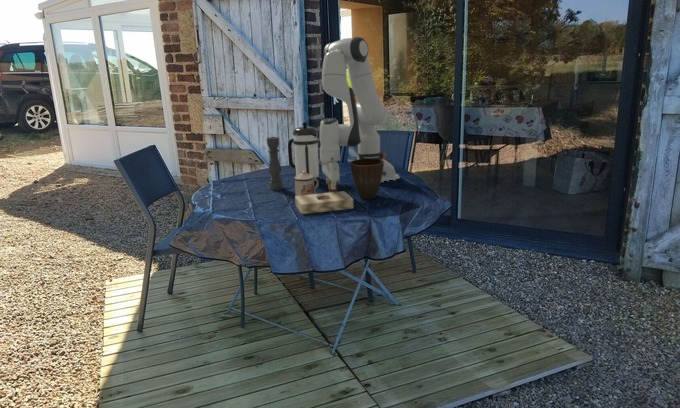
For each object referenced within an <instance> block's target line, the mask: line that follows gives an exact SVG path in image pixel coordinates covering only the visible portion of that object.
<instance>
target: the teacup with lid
mask: <svg viewBox="0 0 680 408" xmlns="http://www.w3.org/2000/svg"><path fill="white" fill-rule="evenodd" d="M294 177H295V178H294ZM294 177H293V178H294V180H295V181H294V180H293V181H294V191H295V196H300V195H310V194H315V190H317V188H318V187H319V184H320V183H319V180H318V179H317V178H314V176H313V175H309V174H308V173H306V171H302V173H301V174H299V175H298V176H295V175H294ZM315 182H316V184H315Z"/></svg>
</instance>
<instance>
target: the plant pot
mask: <svg viewBox="0 0 680 408" xmlns="http://www.w3.org/2000/svg"><path fill="white" fill-rule="evenodd" d="M349 164H350V170H351V175H352V178H353V183H354V186H355V189H356V191H357V194H358V196H359V198H360V199H363V200H364V199H367V200H370V199H375V198H377V195H378V192H379V189H380V187H381V183H382V182H381V178H382V173H383V166H384V161H383V160H380V159H358V160H357V159H354V160H351V161H350V163H349Z"/></svg>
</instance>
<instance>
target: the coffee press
mask: <svg viewBox="0 0 680 408" xmlns="http://www.w3.org/2000/svg"><path fill="white" fill-rule="evenodd" d="M307 125H308V123H307V122H306V121H303V122H302V126H299V127H296V128H295V129H294V130H293V131H292V137H293V138H291V139H289V141H288V143H287V144H288V145H287V153H288V156H287V157H288V162H289V166H290V167H291V168H293V169H294V170H295V171H294V173H295V175H294V177H293V178H292V179H293V181H294V182H295V180H294V178H295V176H298V175H299V174H301V173H302V171H306V173H308V174H309V175H313V176H314V179H317V178H318V179H319V180H322V179H323V177H322V175H321V174H320V159H319V158H320V153H319V139H318V135H319V132H318V131H319V130H317V128H316V127H313V126H307ZM292 145H293V147H292ZM292 149H293V150H292ZM293 152H294V153H293ZM293 154H294V162H293ZM319 176H320V177H319Z"/></svg>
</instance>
